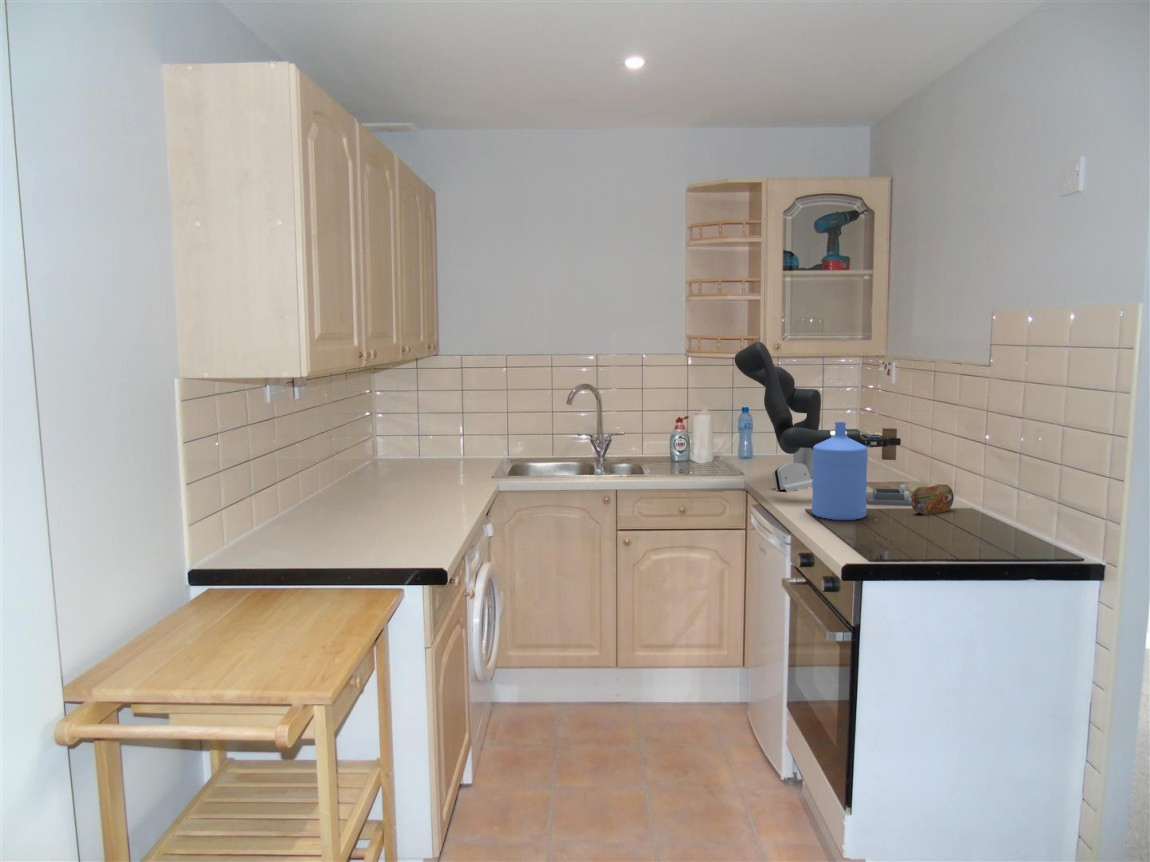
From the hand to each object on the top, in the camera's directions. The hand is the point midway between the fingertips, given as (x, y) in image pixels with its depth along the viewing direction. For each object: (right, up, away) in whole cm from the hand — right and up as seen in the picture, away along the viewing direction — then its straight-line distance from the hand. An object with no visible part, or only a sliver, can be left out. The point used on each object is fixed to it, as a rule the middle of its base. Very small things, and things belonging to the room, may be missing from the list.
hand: (897, 440), depth 259 cm
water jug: (-24, -23, -17) cm, 37 cm away
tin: (+4, -22, -16) cm, 27 cm away
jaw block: (-3, -6, +1) cm, 7 cm away
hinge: (-27, -18, +26) cm, 41 cm away
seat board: (-2, -19, +3) cm, 20 cm away
